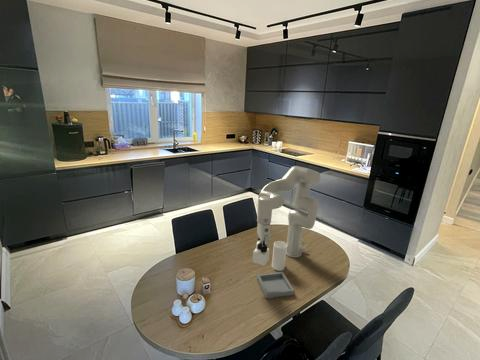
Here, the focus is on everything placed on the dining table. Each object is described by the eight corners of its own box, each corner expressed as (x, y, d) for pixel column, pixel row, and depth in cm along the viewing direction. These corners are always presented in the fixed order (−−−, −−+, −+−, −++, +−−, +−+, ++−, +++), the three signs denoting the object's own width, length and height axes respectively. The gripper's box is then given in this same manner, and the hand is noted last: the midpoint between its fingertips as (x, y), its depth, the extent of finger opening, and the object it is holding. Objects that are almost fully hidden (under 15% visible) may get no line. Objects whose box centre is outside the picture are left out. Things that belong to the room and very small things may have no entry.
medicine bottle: (268, 259, 146) (270, 240, 142) (264, 266, 139) (265, 247, 136) (257, 255, 149) (258, 237, 145) (252, 262, 142) (253, 243, 139)
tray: (282, 275, 154) (282, 271, 153) (293, 294, 139) (294, 290, 138) (256, 279, 150) (257, 274, 149) (265, 299, 135) (266, 294, 134)
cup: (285, 264, 165) (288, 242, 160) (283, 272, 158) (286, 249, 153) (273, 261, 167) (275, 239, 163) (270, 268, 160) (272, 246, 155)
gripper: (276, 226, 129) (273, 257, 134) (265, 211, 145) (263, 239, 150) (262, 227, 127) (259, 258, 133) (253, 212, 143) (251, 240, 149)
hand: (261, 248), depth 141 cm, fingers closed on medicine bottle, 6 cm apart
